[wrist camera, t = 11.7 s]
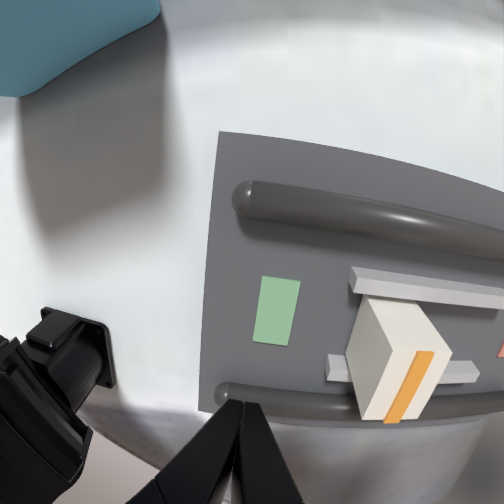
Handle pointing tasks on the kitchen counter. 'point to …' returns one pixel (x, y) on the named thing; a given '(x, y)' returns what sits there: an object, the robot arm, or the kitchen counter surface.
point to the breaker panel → (344, 278)
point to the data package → (60, 36)
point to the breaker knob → (394, 358)
